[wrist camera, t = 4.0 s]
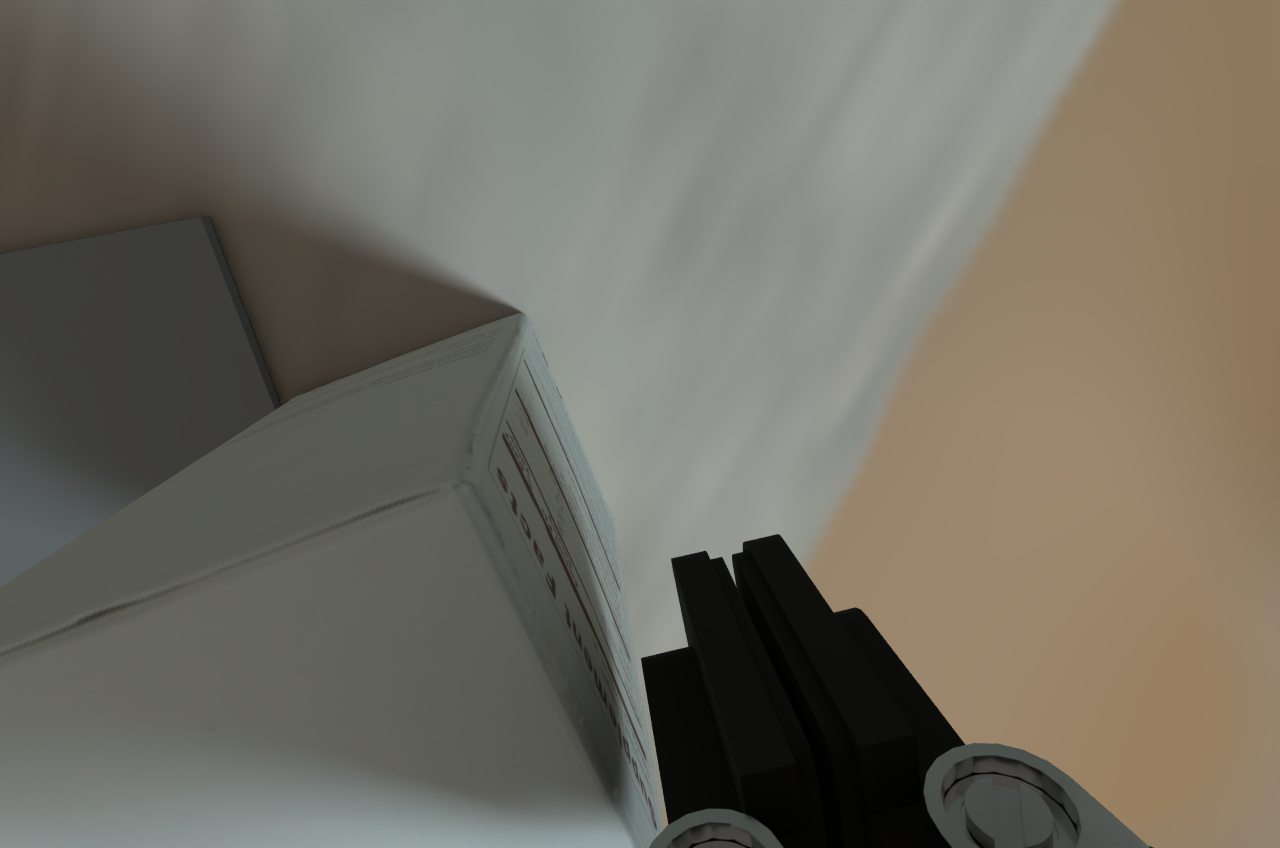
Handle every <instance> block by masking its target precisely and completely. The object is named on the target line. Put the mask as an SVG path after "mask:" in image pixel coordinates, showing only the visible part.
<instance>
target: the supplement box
mask: <svg viewBox="0 0 1280 848" xmlns="http://www.w3.org/2000/svg"><path fill="white" fill-rule="evenodd" d="M663 830H664V829H663V823H662V817H661V811H660V806H659V800H658V794H657V787H656V780H655V773H654V767H653V761H652V755H651V749H650V743H649V738H648V732H647V726H646V720H645V714H644V708H643V703H642V697H641V691H640V686H639V680H638V674H637V669H636V662H635V655H634V649H633V642H632V636H631V630H630V623H629V615H628V608H627V602H626V596H625V588H624V583H623V576H622V569H621V562H620V554H619V547H618V540H617V535H616V529H615V524H614V521H613V518H612V516H611V514H610V512H609V510H608V508H607V505H606V503H605V500H604V498H603V496H602V493H601V491H600V489H599V486H598V484H597V482H596V479H595V477H594V474H593V472H592V470H591V467H590V465H589V462H588V460H587V458H586V455H585V453H584V450H583V448H582V446H581V443H580V441H579V438H578V436H577V434H576V431H575V429H574V426H573V424H572V422H571V419H570V417H569V414H568V412H567V410H566V407H565V405H564V403H563V400H562V398H561V395H560V393H559V391H558V388H557V386H556V384H555V381H554V379H553V376H552V374H551V372H550V369H549V367H548V365H547V362H546V360H545V357H544V355H543V353H542V350H541V348H540V345H539V343H538V341H537V338H536V336H535V334H534V331H533V329H532V327H531V325H530V322H529V320H528V318H527V316H526V314H524V313H518V314H515V315H512V316H509V317H506V318H503V319H500V320H497V321H494V322H491V323H488V324H485V325H482V326H479V327H477V328H474V329H471V330H469V331H466V332H463V333H460V334H458V335H455V336H452V337H450V338H447V339H444V340H441V341H439V342H436V343H433V344H431V345H428V346H425V347H423V348H420V349H417V350H414V351H412V352H409V353H406V354H404V355H401V356H398V357H396V358H393V359H391V360H388V361H386V362H383V363H381V364H378V365H375V366H373V367H370V368H368V369H365V370H363V371H360V372H357V373H355V374H352V375H350V376H347V377H345V378H342V379H339V380H337V381H334V382H332V383H329V384H326V385H324V386H321V387H319V388H316V389H314V390H311V391H309V392H306V393H304V394H301V395H298V396H295V397H293V398H292V399H291V400H290V401H288V402H287V403H285V404H284V405H282V406H281V407H279V408H278V409H276V410H275V411H273V412H272V413H270V414H268V415H267V416H265V417H263V418H262V419H260V420H259V421H257V422H256V423H254V424H253V425H251V426H250V427H248V428H247V429H245V430H244V431H242V432H241V433H239V434H238V435H236V436H234V437H233V438H231V439H230V440H228V441H227V442H225V443H224V444H222V445H221V446H219V447H217V448H216V449H214V450H213V451H211V452H210V453H208V454H206V455H205V456H203V457H202V458H200V459H199V460H197V461H195V462H194V463H192V464H191V465H189V466H188V467H186V468H185V469H183V470H182V471H180V472H179V473H177V474H176V475H174V476H172V477H171V478H169V479H168V480H166V481H165V482H163V483H162V484H160V485H158V486H157V487H155V488H154V489H152V490H151V491H149V492H147V493H146V494H144V495H143V496H141V497H140V498H138V499H137V500H135V501H134V502H132V503H131V504H129V505H128V506H126V507H124V508H123V509H121V510H120V511H118V512H117V513H115V514H114V515H112V516H111V517H109V518H108V519H106V520H104V521H103V522H101V523H100V524H98V525H96V526H95V527H93V528H92V529H90V530H88V531H87V532H85V533H84V534H82V535H81V536H79V537H78V538H76V539H75V540H73V541H72V542H70V543H69V544H67V545H65V546H64V547H62V548H61V549H59V550H58V551H56V552H55V553H53V554H52V555H50V556H49V557H47V558H46V559H44V560H42V561H41V562H39V563H38V564H36V565H35V566H33V567H31V568H30V569H28V570H27V571H25V572H24V573H22V574H21V575H19V576H17V577H16V578H14V579H13V580H11V581H10V582H8V583H7V584H5V585H4V586H2V587H0V848H649V847H650V845H651V843H652V841H653V840H654V839H655V838H656V837H657V836H658V835H659V834H660V833H661V832H662V831H663Z"/></svg>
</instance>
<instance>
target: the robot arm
mask: <svg viewBox="0 0 1280 848" xmlns="http://www.w3.org/2000/svg"><path fill="white" fill-rule="evenodd" d="M671 562H672V567H673V573H674V578H675V582H676V587H677V592H678V597H679V602H680V607H681V612H682V617H683V622H684V627H685V632H686V637H687V642H688V646H689V647H686V648H682V649H677V650H673V651H669V652H665V653H660V654H656V655H652V656H648V657H643V658H641V662H642V668H643V674H644V680H645V687H646V693H647V699H648V705H649V711H650V717H651V723H652V729H653V735H654V741H655V747H656V753H657V759H658V765H659V771H660V777H661V783H662V789H663V795H664V801H665V807H666V813H667V819H668V826H667V827H666V828H665V829H664V830H663V831H662V832H661V833H660V834H659V835H658V836H657V837H656V838H655V839H654V840H653V841H652V843H651V845H650V847H649V848H1153V847H1150V846H1148V845H1147V844H1146V843H1145V842H1143V841H1142V840H1141V839H1140V838H1139V837H1138V836H1137V835H1136V834H1134V833H1133V832H1132V831H1131V830H1130V829H1129V828H1127V827H1126V826H1125V825H1124V824H1123V823H1122V822H1121V821H1120V820H1119V819H1117V818H1116V817H1115V816H1114V815H1113V814H1112V813H1111V812H1109V811H1108V810H1107V809H1106V808H1105V807H1104V806H1103V805H1101V804H1100V803H1099V802H1098V801H1097V800H1096V799H1095V798H1094V797H1092V796H1091V795H1090V794H1089V793H1088V792H1087V791H1086V790H1085V789H1083V788H1082V787H1081V786H1080V785H1079V784H1078V783H1076V782H1075V781H1074V780H1073V779H1072V778H1071V777H1070V776H1068V775H1067V774H1065V773H1064V772H1063V771H1061V770H1060V769H1058V768H1057V767H1056V766H1054V765H1053V764H1051V763H1050V762H1048V761H1046V760H1044V759H1042V758H1040V757H1038V756H1035V755H1033V754H1031V753H1029V752H1027V751H1025V750H1022V749H1018V748H1013V747H1009V746H1005V745H1001V744H986V743H973V744H969V745H965V744H964V742H963V741H962V740H961V738H960V737H959V736H958V734H957V733H956V732H955V731H954V729H953V728H952V727H951V725H950V724H949V723H948V721H947V720H946V719H945V717H944V716H943V715H942V714H941V712H940V711H939V710H938V708H937V707H936V706H935V705H934V703H933V702H932V700H931V699H930V698H929V697H928V696H927V694H926V693H925V692H924V690H923V689H922V687H921V686H920V685H919V684H918V682H917V681H916V680H915V678H914V677H913V676H912V674H911V673H910V672H909V671H908V669H907V668H906V667H905V665H904V664H903V663H902V661H901V660H900V659H899V658H898V656H897V655H896V654H895V652H894V651H893V650H892V648H891V647H890V646H889V644H888V643H887V642H886V640H885V639H884V638H883V636H882V635H881V634H880V633H879V631H878V630H877V629H876V628H875V626H874V625H873V623H872V622H871V621H870V620H869V618H868V617H867V616H866V615H865V614H864V613H863V611H862V610H861V609H858V608H851V609H847V610H843V611H839V612H835V613H833V611H832V610H831V608H830V607H829V605H828V604H827V602H826V601H825V599H824V598H823V597H822V595H821V594H820V592H819V591H818V589H817V588H816V586H815V585H814V583H813V582H812V580H811V579H810V578H809V576H808V575H807V573H806V572H805V570H804V569H803V567H802V566H801V564H800V563H799V562H798V560H797V559H796V557H795V556H794V554H793V553H792V551H791V550H790V548H789V547H788V545H787V544H786V543H785V541H784V540H783V538H782V537H781V536H780V535H779V534H777V535H772V536H768V537H764V538H759V539H755V540H750V541H746V542H743V552H741V553H737V554H733V555H732V562H733V568H734V574H735V580H736V585H735V583H734V581H733V579H732V577H731V575H730V572H729V570H728V568H727V566H726V564H725V562H724V560H723V558H722V557H719V558H715V559H711V560H710V558H709V556H708V553H707V552H706V551H703V552H698V553H694V554H689V555H685V556H681V557H676V558H672V559H671ZM736 586H737V587H736Z"/></svg>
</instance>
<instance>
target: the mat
mask: <svg viewBox="0 0 1280 848" xmlns="http://www.w3.org/2000/svg"><path fill="white" fill-rule="evenodd" d="M279 407H281V404H280V401H279V399H278V396H277V393H276V391H275V388H274V386H273V383H272V380H271V378H270V375H269V373H268V370H267V367H266V365H265V362H264V359H263V357H262V354H261V352H260V349H259V346H258V344H257V341H256V339H255V336H254V333H253V331H252V328H251V326H250V323H249V320H248V318H247V315H246V312H245V310H244V307H243V305H242V302H241V299H240V297H239V294H238V292H237V289H236V286H235V284H234V281H233V279H232V276H231V273H230V271H229V268H228V265H227V263H226V260H225V258H224V255H223V252H222V250H221V247H220V245H219V242H218V239H217V237H216V234H215V232H214V229H213V226H212V224H211V221H210V218H209V216H199V217H193V218H188V219H183V220H177V221H172V222H167V223H162V224H156V225H151V226H146V227H140V228H135V229H130V230H125V231H119V232H114V233H109V234H103V235H98V236H93V237H88V238H82V239H77V240H72V241H66V242H61V243H56V244H51V245H45V246H40V247H35V248H29V249H24V250H19V251H14V252H8V253H3V254H0V587H2V586H4V585H5V584H7V583H8V582H10V581H11V580H13V579H14V578H16V577H17V576H19V575H21V574H22V573H24V572H25V571H27V570H28V569H30V568H31V567H33V566H35V565H36V564H38V563H39V562H41V561H42V560H44V559H46V558H47V557H49V556H50V555H52V554H53V553H55V552H56V551H58V550H59V549H61V548H62V547H64V546H65V545H67V544H69V543H70V542H72V541H73V540H75V539H76V538H78V537H79V536H81V535H82V534H84V533H85V532H87V531H88V530H90V529H92V528H93V527H95V526H96V525H98V524H100V523H101V522H103V521H104V520H106V519H108V518H109V517H111V516H112V515H114V514H115V513H117V512H118V511H120V510H121V509H123V508H124V507H126V506H128V505H129V504H131V503H132V502H134V501H135V500H137V499H138V498H140V497H141V496H143V495H144V494H146V493H147V492H149V491H151V490H152V489H154V488H155V487H157V486H158V485H160V484H162V483H163V482H165V481H166V480H168V479H169V478H171V477H172V476H174V475H176V474H177V473H179V472H180V471H182V470H183V469H185V468H186V467H188V466H189V465H191V464H192V463H194V462H195V461H197V460H199V459H200V458H202V457H203V456H205V455H206V454H208V453H210V452H211V451H213V450H214V449H216V448H217V447H219V446H221V445H222V444H224V443H225V442H227V441H228V440H230V439H231V438H233V437H234V436H236V435H238V434H239V433H241V432H242V431H244V430H245V429H247V428H248V427H250V426H251V425H253V424H254V423H256V422H257V421H259V420H260V419H262V418H263V417H265V416H267V415H268V414H270V413H272V412H273V411H275V410H276V409H278V408H279Z"/></svg>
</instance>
